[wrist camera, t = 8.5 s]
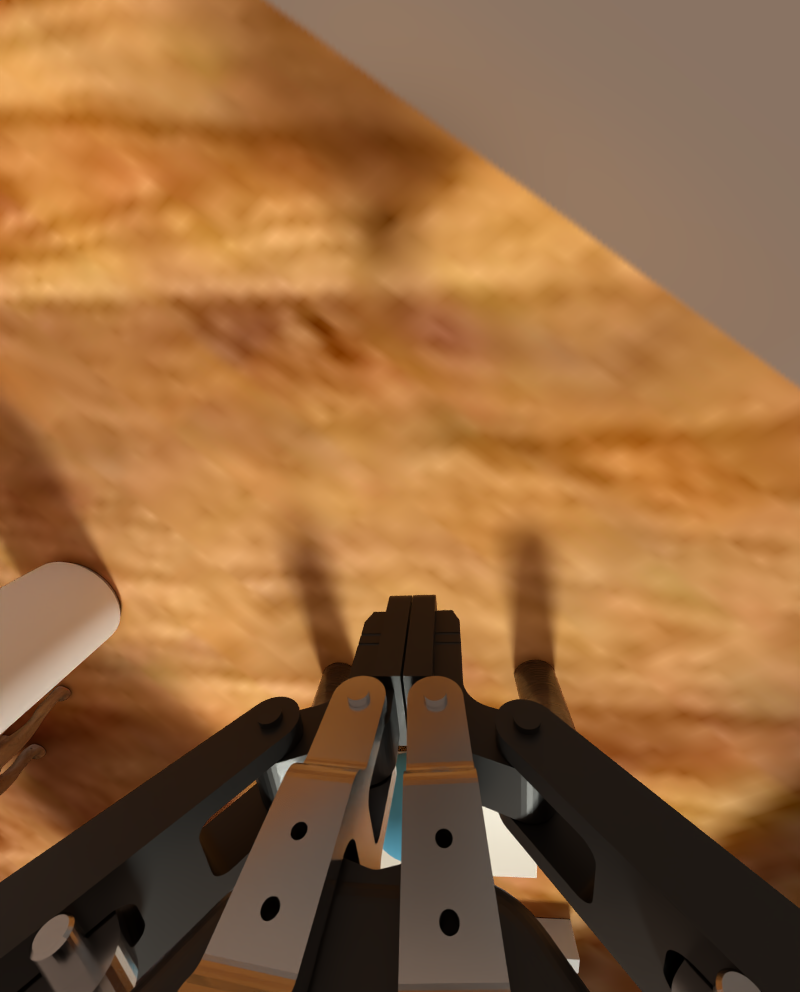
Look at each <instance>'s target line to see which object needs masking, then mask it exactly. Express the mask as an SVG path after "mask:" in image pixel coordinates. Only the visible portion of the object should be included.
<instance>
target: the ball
mask: <svg viewBox="0 0 800 992" xmlns="http://www.w3.org/2000/svg"><path fill="white" fill-rule="evenodd" d="M406 754H407V752H406V753H401V754H398V755H397V762H396V771H397V775H396V781H395V786H394V792H393V797H392V802H391V807H390V813H389V818H388V823H387V828H386V834H385V839H384V844H383V850H384V851H385V852H386V853H388V854H389V855H390V856H392V857H393V858H395V859H397V860H399V861H401V843H402V799H403V774H404V771H406Z"/></svg>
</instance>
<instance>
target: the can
mask: <svg viewBox="0 0 800 992" xmlns="http://www.w3.org/2000/svg"><path fill="white" fill-rule="evenodd" d="M119 622H120V603H119V600H118V597H117V595H116V593H115V592H114V590H113V588H112V587H111V586H110V585H109V583H108V582H107V581H106V580H105V579H104V578H102V577H101V576H100V575H99V574H97V573H96V572H94V571H92V570H91V569H89V568H87V567H84V566H81V565H78V564H73V563H67V562H52V563H47V564H45V565H42V566H40V567H38V568H36V569H34V570H33V571H31V572H29V573H27V574H25V575H23V576H21V577H20V578H18V579H16V580H14V581H12V582H10V583H9V584H7V585H5V586H3V587H1V588H0V734H1V733H3V732H4V731H5V730H6V729H7V728H8V727H9V726H10V725H12V724H13V723H14V722H15V721H16V720H17V719H18V718H20V717H21V716H22V715H23V714H24V713H25V712H26V711H27V710H29V709H30V708H31V707H32V706H33V705H34V704H35V703H36V702H38V701H39V700H40V699H41V698H42V697H43V696H44V695H45V694H47V693H48V692H49V691H50V690H51V689H52V688H53V687H54V686H56V685H57V684H58V683H59V682H60V681H61V680H62V679H63V678H65V677H66V676H67V675H68V674H69V673H70V672H71V671H72V670H74V669H75V668H76V667H77V666H78V665H79V664H80V663H81V662H83V661H84V660H85V659H86V658H87V657H88V656H89V655H90V654H92V653H93V652H94V651H95V650H96V649H97V648H98V647H99V646H100V645H101V644H103V643H104V642H105V641H106V640H107V639H108V638H109V637H110V636H111V635H112V634H113V633H114V632H115V631H116V629H117V627H118V625H119Z"/></svg>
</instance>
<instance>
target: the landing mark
mask: <svg viewBox="0 0 800 992" xmlns="http://www.w3.org/2000/svg"><path fill="white" fill-rule="evenodd" d="M406 752H407V751H398V754H401V753H406ZM482 809H483V815H484V822H485V828H486V835H487V841H488V848H489V854H490V861H491V867H492V874H493V876H502V877H525V878H537V864H536V863H535V862H534V860H533V859H532V858H531V857H530V856H529V854H528V853H527V852H526V851H525V850H524V848H523V847H522V846H521V845H520V843H519V842H518V841H517V840H516V839H515V837H514V836H513V835H512V834H511V833H510V831H509V830H508V829H507V828H506V826H505V825H504V824H503V822H502V820H501V818H500V816H499V813H498V812H496V811H493V810H491V809H488V808H486V807H483V806H482ZM399 864H401V861H399V860H397V859H395V858H393V857H392V856H390V855H389V854H388V853H386V852H385V851H384V850H382V856H381V869H383V868H387V867H391V866H395V865H399Z"/></svg>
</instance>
